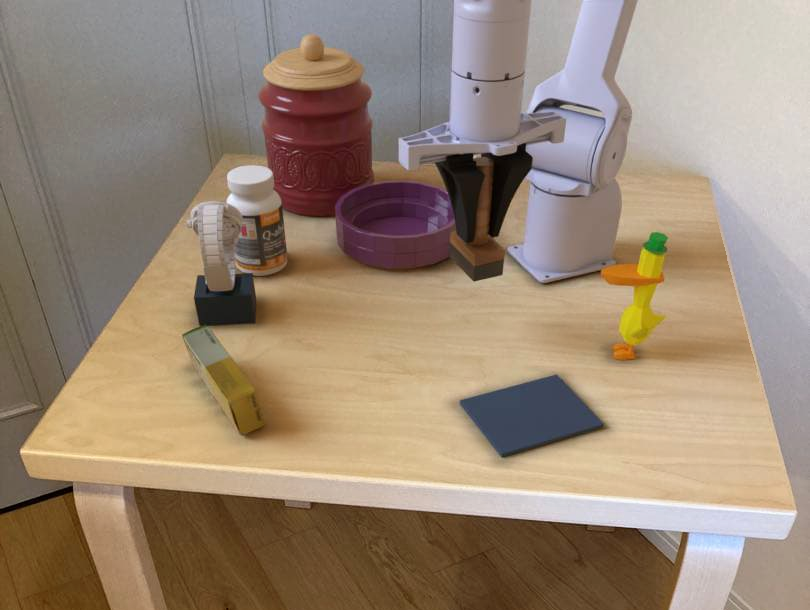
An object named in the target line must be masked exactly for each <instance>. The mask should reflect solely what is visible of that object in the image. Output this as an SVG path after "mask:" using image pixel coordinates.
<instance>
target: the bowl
mask: <svg viewBox="0 0 810 610" xmlns="http://www.w3.org/2000/svg"><path fill="white" fill-rule="evenodd" d="M334 217H335V229H336V230H335V231H336V232H335V233H336V243H337V246H338V248H339V249H340V250H341V251H342V253H343V254H344V255H346V256H348V257H350V258H351V259H353V260H354V261H356V262H359V263H362V264H365V265H368V266H371V267H372V266H373V267H376V268H384V269H385V268H386V269H394V270H395V269H413V268H414V269H416V268H420V267H425V266H431V265H434V264H437V263H439V262H442V261H443V260H446V259H448V258H450V232H452V231H456V225H455V219H454V214H453V210H452V206H451V202H450V198H449V195H448V192H447V189H446V188H444V187H442V186H439V185H436V184H432V183H427V182H424V181H416V180H405V179H397V180H382V181H376V182H375V181H374V183H370V184H365V185H363V186H360V187H357V188H355V189H352V190H350V191H349V192H347V193H346V194H344V195H343V196H341V197H340V199H339V200H338V202H337V203H336V205H335V216H334Z"/></svg>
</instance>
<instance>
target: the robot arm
mask: <svg viewBox="0 0 810 610" xmlns="http://www.w3.org/2000/svg"><path fill="white" fill-rule="evenodd" d="M638 2H639V0H582V3H581V7H580V10H579V14H578V18H577V21H576V24H575V28H574V30H573V36H572V39H571V43H570V45H569V46H570V47H569V50H568V53H567V57H566V60H565V64H564V66H563V67H564V68H563V69H561V70H560V71H559V72H557V73H555V74H553V75H552V76H550V77H548V78H547V79H545V80H543V81H542V82H540V83H539V84H538V85H536V86H535V88H534V92H533V93H532V97H531V99H530V103H529V105H528V108H527V109H526V112H522V108H523V107H522V106H523V97H524V85H525V76H526V75H525V74H526V66H527V65H526V64H527V53H528V43H529V33H530V32H529V31H530V23H531V22H530V21H531V11H532V0H453V20H452V21H453V22H452V45H451V46H452V48H451V49H452V51H451V74H450V102H449V103H450V104H449V121H447V122H444V123H442V124H438V125H436V126H433V127H431V128H428V129H426V130H423V131H421V132H418V133H415V134H412V135H411V134H410V135H407V136H404V137H399V138H398V163H399V164H400V165H401V166H402V167H403V168H404V169H405V170H407V171H408V172H411V171H416V170H419V169H420V168H421V167H420V166H423V165H430V164H435V166H436V168H437V170H438V172H439V175H440V177H441V179H442V182H443V184H444V187H445V189H446V190H447V192H448V195H449V198H450V202H451V206H452V210H453V214H454V219H455V225H456V233H457V235H458V236H459V237H460V238H461V239H462V240H463V241H464V242H465V243H471V242H473V241H474V237H475V230H476V212H477V205H478V199H479V195H480V191H481V187H482V184H483V181H484V178H485V174H484V173H483V172H482V171H480V170H479V169H478V168H477V167H476V161H474V160H473V159H474V156H478V155H480V157H487V158H490V159H492V160H493V161H494V175H493V188H492V201H491V214H490V227H489V235H490V236H491V237H492V238H493V239H494V238H497V237H499V236H500V234H501V233H500V232H501V230H502V227H503V224H504V221H505V218H506V215H507V213H508V210H509V207H510V205H511V203H512V201H513V199H514V197H515V195H516V193H517V191H518V190H519V188H520V186H521V185H522V184H523V181H524V180H526V181H529V192H528V202H527V209H526V210H527V211H526V217H525V218H526V219H525V226H524V227H525V228H524V229H525V230H524V238H523V243H520V244H515V245H511V246H508V247H507V251H506V252H507V253H508V254H509V255H510V256H511V257H512V258H513V259H515V261H517V262H518V264H520V265H521V266H522V267H523V268H524V269H525V270H526V272H528V273H529V274H530V275H531V276H532V277H534V279H536V280H537V281H538V282H539V283H541V284H547V283H552V282H557V281H560V280H563V279H568V278H572V277H577V276H582V275H586V274H590V273H595V272H598V271H601V270H602V269H604V268H606V267H608V266H612V265H617V262H616V261H615V260H614V259H613V256H614V252H615V251H614V250H615V245H616V241H617V235H618V230H619V225H620V220H621V214H622V208H623V200H622V192H621V187H620V185H619V183H618V181H617V179H616V177H617V175H618V173H619V172H620V169H621V167H622V164H623V162H624V159H625V155H626V152H627V147H628V136H629V132H630V131H629V130H630V128H631V127H630V126H631V124H632V120H633V109H632V106H631V104H630V102H629V100H628V99H627V97H626V95H625V94H624V92H623V91H622V90H621V88H620V86H619V85H618V83H617V82H616V80H615V79H616V74H617V70H618V68H619V64H620V62H621V61H620V60H621V57H622V54H623V51H624V47H625V44H626V41H627V38H628V34H629V30H630V27H631V24H632V21H633V17H634V14H635V11H636V8H637V4H638ZM562 106H573V107H578V108H581V109H582V108H583V109H587V110H592V111H595V112H599V113H602V115H603V116H604V117H602V116H598V115H595V114H594V115H593V114H589V113H587V112H586V113H585V112H582V111H576V110H572V109H568V108H563V107H562Z"/></svg>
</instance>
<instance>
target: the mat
mask: <svg viewBox="0 0 810 610" xmlns="http://www.w3.org/2000/svg"><path fill="white" fill-rule="evenodd" d="M459 405H460V406H461V407H462V409H463V410H464V411H465V412H466V414H467V415H468V416H469V417H470V419H471V420H472V421H473V423H474V424H475V425H476V426H477V428H478V429H479V430H480V432H481V433H482V434H483V435H484V437H485V438H486V440H487V441H488V442H489V443H490V444H491V446H492V447H493V448H494V449H495V451H496V452H497V453H498V455H499V456H500V457H501V458H504V457H507V456H511V455H514V454H518V453H521V452H524V451H528V450H531V449H534V448H535V449H536V448H539V447H541V446H545V445H548V444H553V443H555V442H559V441H562V440H566V439H569V438H572V437H575V436H576V437H577V436H580V435H582V434H586V433H589V432H592V431H595V430H599V429H603V428H604V426H605V424H604V422H603V421H602V420H601V419H600V418H599V417H598V416H597V415H596V414H595V413H594V412H593V410H591V409H590V408H589V406H588V405H587V404H586V403H585V402H584V401H583V400H582V399H581V398H580V397H579V396H578V395H577V394H576V392H574V391H573V389H571V387H569V386H568V384H567V383H566V382H565V381H564V380H563V379H562V378H561V377H560V376H559V375H558V374H557V373H555V374H553V375H549V376H545V377H542V378H538V379H534V380H530V381H526V382H523V383H518V384H515V385H512V386H511V385H510V386H508V387H504V388H501V389H497V390H493V391H489V392H485V393H482V394H478V395H473V396H470V397H467V398H463V399H460V400H459Z"/></svg>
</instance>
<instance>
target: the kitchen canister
mask: <svg viewBox="0 0 810 610" xmlns="http://www.w3.org/2000/svg"><path fill="white" fill-rule="evenodd" d="M324 45H325V44H324V42H323V40H322V39H321V37H320V36H318V35H317V34H315V33H314V34H313V33H309V34H306V35H305V36H303V37H302V39H301V42H300V46H299V47H295V48H291V49H288V50H285V51H282V52H280V53H278V54H277V55H276V56H275V57H274V59H273V60H271V61H270V62H269V63H268V64H266V65H265V67H264V68H263V70H262V75H263V77H264V79H265V80H266V81H267V82H266V83H265V84H263V85H262V86H261V87H260V89H259V91H258V94H257V98H258V101H259V102H260V104H261V105H262V106H263V108H264V119H263V120H262V122H261V129H262V132H263V137H264V144H265V152H266V153H265V154H266V162H267V168H269V169H270V170H271V171H272V172H273V177H274V188H273V190H274V191H276V192H277V193H278V195H279V196H280V198H281V202H282V209H283V210H285V211H288V212H290V213H294V214H299V215H303V216H304V215H305V216H312V217H313V216H316V217H317V216H318V217H321V216H334V215H335V205H336V203H337V202H338V200H339V199H340V197H341V196H343V195H344V194H346V193H347V192H349V191H350V190H352V189H355V188H357V187H360V186H363V185H365V184H370V183H375V172H374V169H373V143H372V141H373V140H372V129H373V126H374V122H373V118H372V117H371V116H370V114H369V107H368V103H369V102H370V100H371V99H372V97H373V91H372V88H371V86H370V85H369V84H368V82H366V81H364V80H363V79H362V77H363V75H364V74H365V68H364V65H362V64H361V62H360V61H358V60H356V59H355V58H353V57H351V55H350V54H349V53H347V51H344V50H342V49H338V48H334V47H328V46H324Z"/></svg>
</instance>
